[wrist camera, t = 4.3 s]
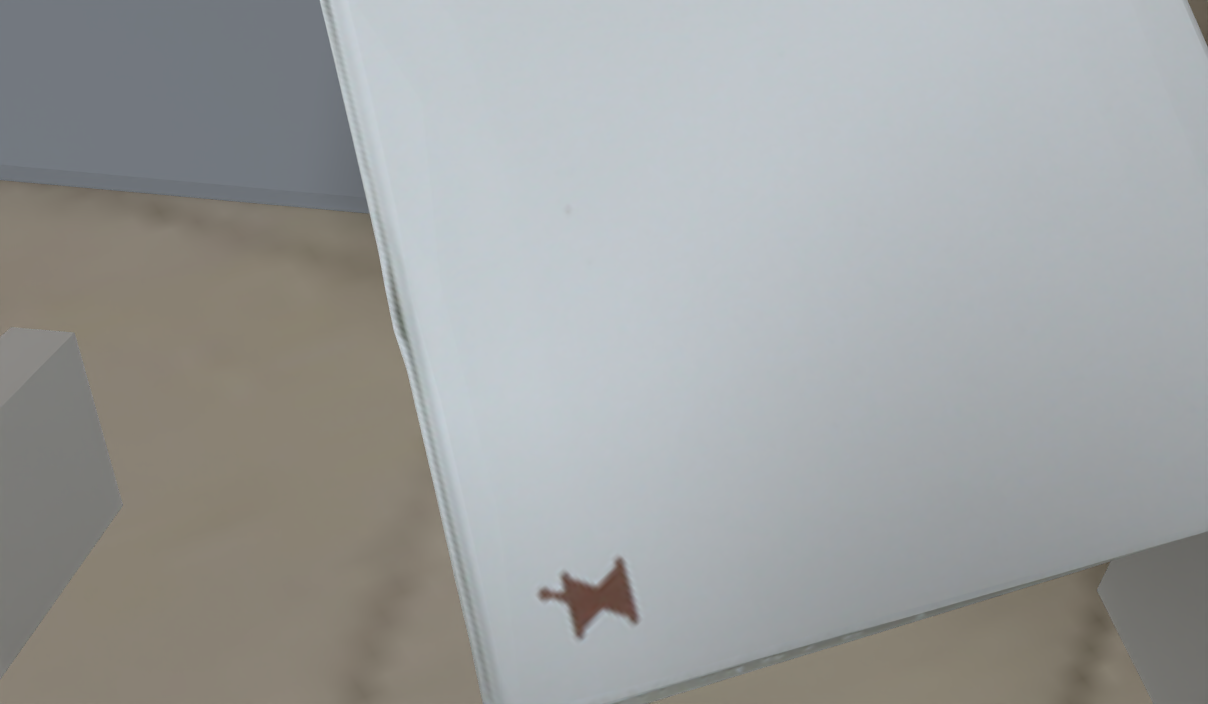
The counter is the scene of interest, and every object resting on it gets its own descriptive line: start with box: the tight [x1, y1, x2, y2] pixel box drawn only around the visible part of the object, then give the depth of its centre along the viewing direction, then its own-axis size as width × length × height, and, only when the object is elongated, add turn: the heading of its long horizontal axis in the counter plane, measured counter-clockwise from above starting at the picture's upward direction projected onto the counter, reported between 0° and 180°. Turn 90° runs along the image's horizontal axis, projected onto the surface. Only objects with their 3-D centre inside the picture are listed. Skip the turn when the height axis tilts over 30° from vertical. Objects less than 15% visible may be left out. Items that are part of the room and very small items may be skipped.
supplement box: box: [320, 0, 1208, 704], centre depth 14 cm, size 7×7×13 cm
